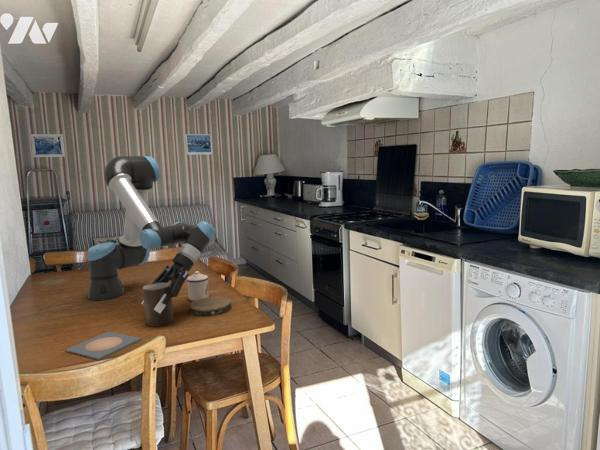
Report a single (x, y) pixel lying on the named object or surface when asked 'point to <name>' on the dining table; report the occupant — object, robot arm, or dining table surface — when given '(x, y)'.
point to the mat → (103, 345)
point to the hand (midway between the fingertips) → (150, 308)
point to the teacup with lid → (197, 286)
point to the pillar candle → (151, 299)
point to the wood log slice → (210, 306)
